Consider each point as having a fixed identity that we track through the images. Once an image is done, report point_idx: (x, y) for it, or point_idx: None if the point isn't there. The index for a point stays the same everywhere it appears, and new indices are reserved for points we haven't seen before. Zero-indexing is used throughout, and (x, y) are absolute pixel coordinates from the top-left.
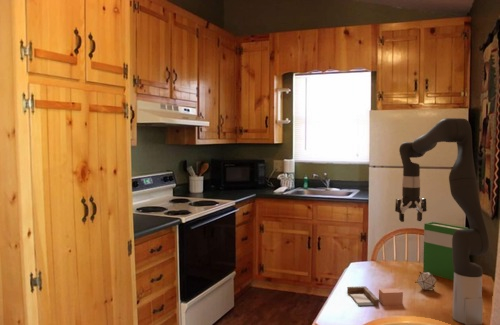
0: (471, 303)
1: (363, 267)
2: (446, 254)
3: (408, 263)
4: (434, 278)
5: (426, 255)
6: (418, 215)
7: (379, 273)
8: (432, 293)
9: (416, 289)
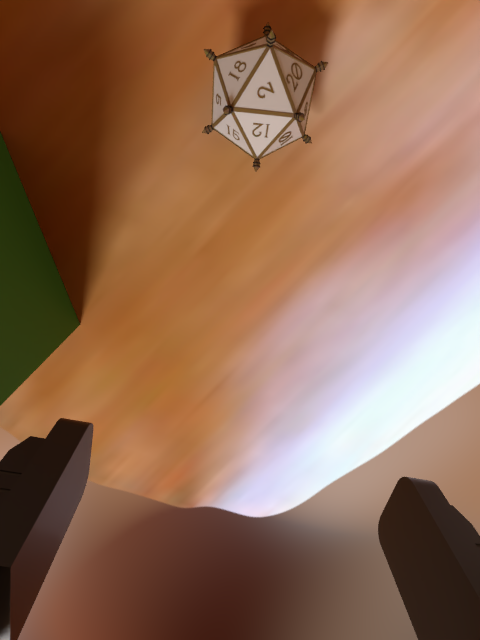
0: None
1: (294, 461)
2: None
3: None
4: (236, 52)
5: (32, 348)
6: (43, 547)
7: (289, 381)
8: None
9: None
